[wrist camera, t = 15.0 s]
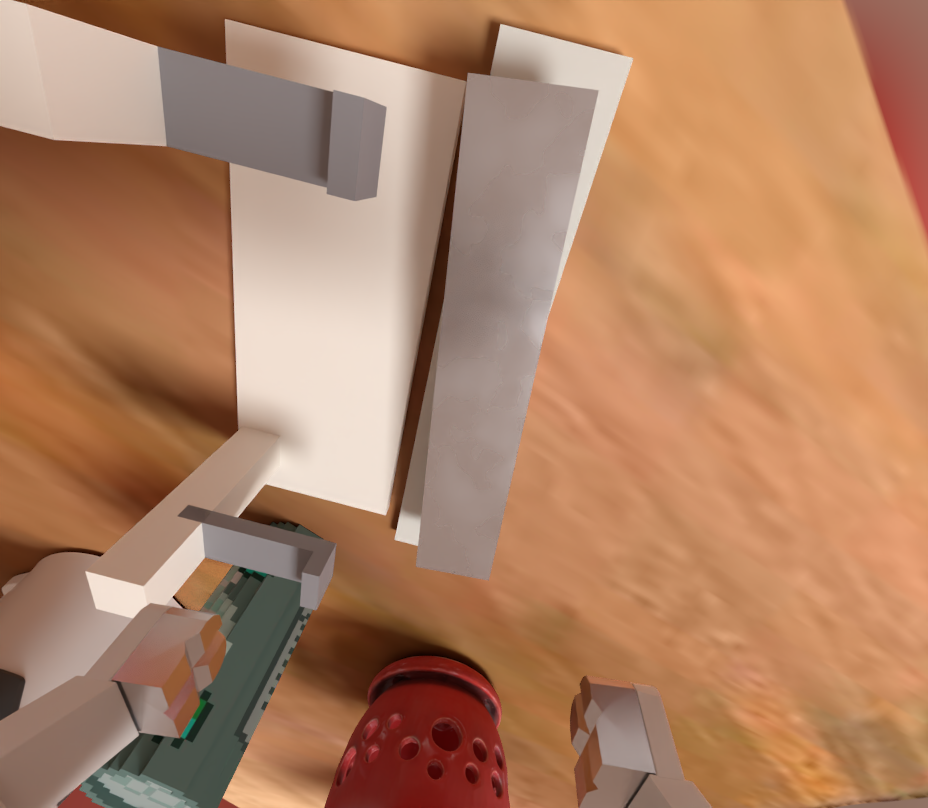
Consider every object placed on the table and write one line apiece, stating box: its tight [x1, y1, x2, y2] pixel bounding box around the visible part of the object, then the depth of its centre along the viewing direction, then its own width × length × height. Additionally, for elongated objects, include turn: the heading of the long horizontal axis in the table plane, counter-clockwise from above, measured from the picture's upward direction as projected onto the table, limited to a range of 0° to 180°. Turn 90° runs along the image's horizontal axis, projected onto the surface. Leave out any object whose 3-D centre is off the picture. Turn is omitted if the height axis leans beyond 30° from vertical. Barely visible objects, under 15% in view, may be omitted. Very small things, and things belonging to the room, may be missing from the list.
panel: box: [395, 24, 633, 546], centre depth 24 cm, size 28×5×1 cm, turn 167°
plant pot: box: [325, 656, 510, 808], centre depth 34 cm, size 13×13×12 cm
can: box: [79, 522, 323, 808], centre depth 27 cm, size 6×6×15 cm
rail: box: [416, 73, 599, 580], centre depth 22 cm, size 24×4×3 cm, turn 173°
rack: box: [0, 0, 467, 618], centre depth 19 cm, size 24×10×12 cm, turn 167°
